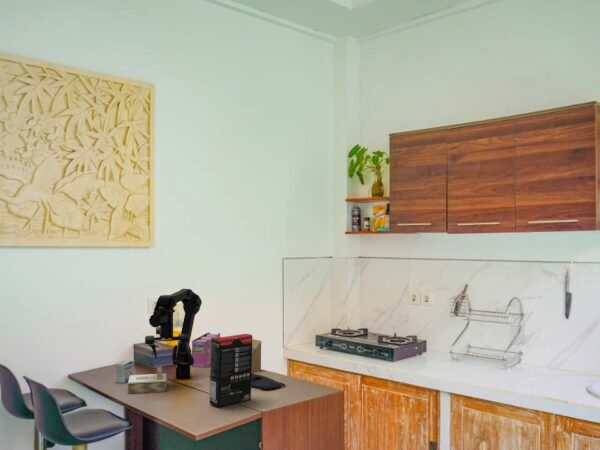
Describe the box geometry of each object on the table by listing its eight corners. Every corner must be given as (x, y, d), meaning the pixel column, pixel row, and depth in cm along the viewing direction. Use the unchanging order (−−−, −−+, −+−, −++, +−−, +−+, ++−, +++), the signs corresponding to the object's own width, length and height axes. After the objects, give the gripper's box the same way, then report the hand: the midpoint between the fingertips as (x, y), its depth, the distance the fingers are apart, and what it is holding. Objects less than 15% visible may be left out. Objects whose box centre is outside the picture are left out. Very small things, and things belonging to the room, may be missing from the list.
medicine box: (124, 383, 268) (124, 364, 268) (115, 382, 269) (115, 364, 269) (132, 378, 276) (132, 360, 276) (124, 378, 277) (124, 360, 277)
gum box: (208, 356, 322) (208, 332, 322) (221, 357, 320) (222, 332, 320) (191, 367, 298) (191, 340, 298) (205, 368, 297) (206, 341, 297)
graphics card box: (242, 396, 249) (243, 332, 249) (253, 400, 244) (253, 334, 244) (209, 404, 237) (209, 337, 237) (219, 408, 232) (219, 340, 232)
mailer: (166, 384, 267) (166, 375, 267) (166, 391, 255) (166, 382, 255) (129, 386, 263) (129, 377, 263) (128, 393, 252) (128, 384, 251)
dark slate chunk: (262, 393, 254) (262, 382, 254) (233, 383, 271) (233, 372, 271) (289, 387, 264) (289, 376, 264) (259, 377, 281) (259, 367, 281)
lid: (166, 374, 267) (166, 365, 267) (166, 381, 255) (166, 372, 255) (129, 376, 263) (129, 367, 263) (128, 383, 251) (128, 374, 251)
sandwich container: (226, 373, 287) (226, 342, 287) (249, 367, 298) (249, 338, 298) (238, 376, 281) (238, 345, 281) (261, 370, 293) (261, 340, 292)
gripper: (185, 319, 273) (185, 352, 273) (144, 321, 268) (144, 355, 268) (188, 323, 263) (188, 358, 263) (145, 325, 257) (145, 361, 257)
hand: (166, 358), depth 263 cm, fingers open, 9 cm apart
